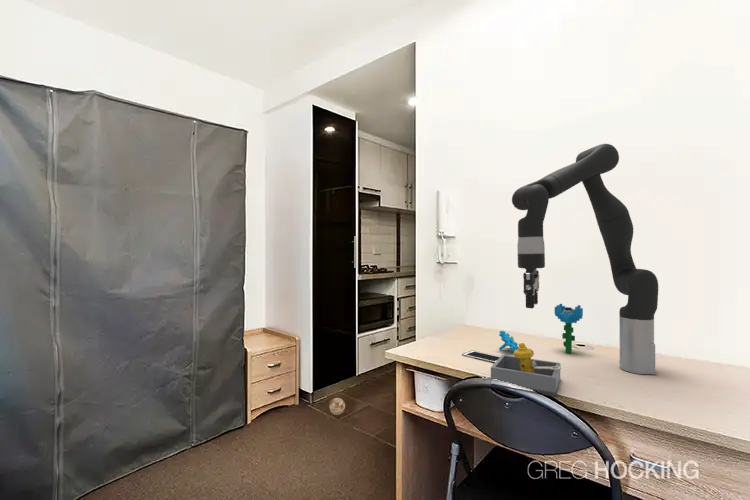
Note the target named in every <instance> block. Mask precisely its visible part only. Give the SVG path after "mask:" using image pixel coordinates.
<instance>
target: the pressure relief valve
mask: <svg viewBox="0 0 750 500" xmlns="http://www.w3.org/2000/svg"><path fill="white" fill-rule="evenodd" d="M518 347H519V348H518V350H515V352H514V351H513V356H514V357H516V358H518V359H520V368H521V371H523V372H529V373H534V369H551V370H559V369H560V370H561V369H562V367H561V365H560V366H552V367H541V366H537V364H536V362H535V361H533V362H532V361H531V359H532V358H533V356H534V355H535V353H534V352H535V351H534V350H533V349H531V348H528V347H527V346H526V344H525V342H520V343H518ZM555 367H557V369H553V368H555Z"/></svg>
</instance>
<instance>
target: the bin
mask: <svg viewBox="0 0 750 500" xmlns="http://www.w3.org/2000/svg"><path fill="white" fill-rule="evenodd" d="M531 361H532V362H533V361H535V362H536V364H537V366H541V367H552V366H560V367H561V362H557V361H556V362H555V361H548V360H544V359H543V360H542V359H536V358H531ZM492 364H493V365H492V366H490V380H491V379H497V380H500V381H504V382H509V383H512V384H516V385H518V386H522V387H526V388H530V389H533V390H535V391H537V392H539V393H542V394H541V395H544V396H550V397H555V398H556V397H557V394H558V390H559V386H560V382H561V369H559V370H551V369H534V373H529V372H523V371H521V368H520V359H518V358H516V357H514V355H508V354H507V355H506V354H501V355H500V358H499V359H498V360H497V361H496V362H495V363H492ZM553 369H557V367H555V368H553Z"/></svg>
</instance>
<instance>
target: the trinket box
mask: <svg viewBox="0 0 750 500" xmlns="http://www.w3.org/2000/svg"><path fill="white" fill-rule="evenodd" d="M328 407H329V410H330V413H331V414H332V415H336V416H337V415H341V414H342V413H344V411H345V409H346V403H345V401H344V400H343V399H342V398H340V397H335V398H333V399H332V400H330V401H329V405H328Z"/></svg>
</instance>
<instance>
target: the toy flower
mask: <svg viewBox="0 0 750 500" xmlns="http://www.w3.org/2000/svg"><path fill="white" fill-rule="evenodd" d="M583 314H584V308H583V307H582V306H581V305H579V304H578V305H576V306H574V308H573V307H569V306H566V305H563V303H559V304H557V305H556V306H554V316H555V317H557V319H559V320H560V322H562V323H564V325H563V331H564V332H563V333H562V334H561V336H562V339H563V340H565V341H563V342H562V343H563V345H562V346H563V347H565V354H572V352H573V351H572V350H573V346H572V345H573V342H575V341H576V336H575V335H572V334H573V333H574V327H573V326H572V325H573V324H577V323H578V322H579V321H580V320H581V319H583ZM572 341H573V342H572Z"/></svg>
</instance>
